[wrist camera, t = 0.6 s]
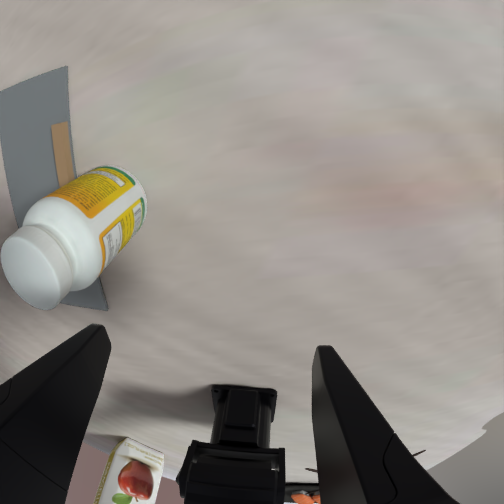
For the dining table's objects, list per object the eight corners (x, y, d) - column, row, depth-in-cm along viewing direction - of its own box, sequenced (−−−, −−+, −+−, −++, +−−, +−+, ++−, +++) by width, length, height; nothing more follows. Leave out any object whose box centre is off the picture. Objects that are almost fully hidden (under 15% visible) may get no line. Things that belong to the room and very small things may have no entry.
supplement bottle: (162, 221, 20) (93, 315, 12) (105, 243, 21) (33, 328, 13) (128, 149, 18) (27, 205, 9) (72, 181, 19) (-21, 244, 10)
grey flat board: (108, 308, 24) (103, 316, 24) (45, 298, 25) (39, 304, 24) (67, 66, 15) (58, 66, 14) (-1, 92, 15) (-10, 94, 14)
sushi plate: (261, 493, 51) (260, 507, 48) (316, 449, 37) (317, 471, 33) (372, 493, 53) (373, 506, 50) (453, 443, 38) (457, 459, 35)
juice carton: (153, 461, 44) (132, 546, 27) (111, 441, 42) (83, 528, 25) (170, 454, 41) (148, 551, 24) (124, 433, 38) (92, 532, 22)
